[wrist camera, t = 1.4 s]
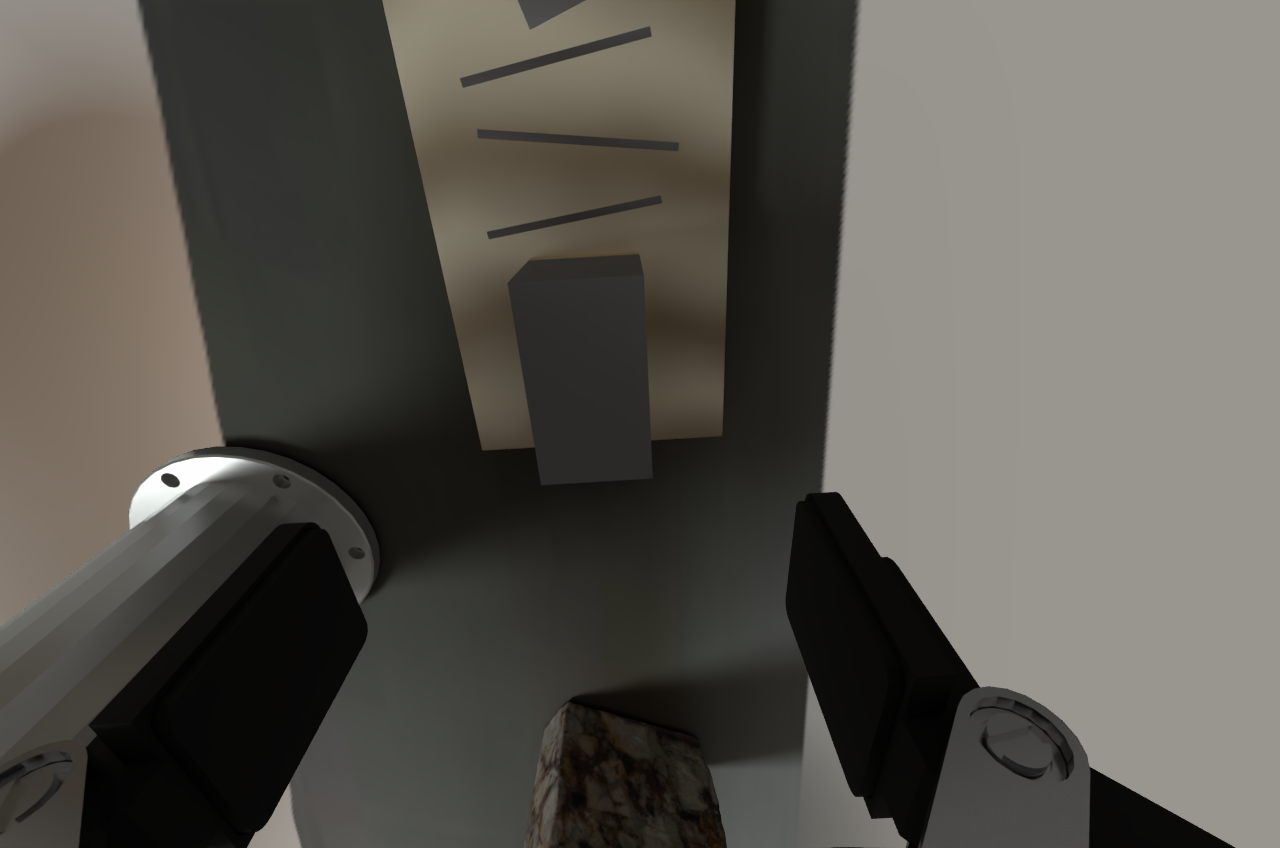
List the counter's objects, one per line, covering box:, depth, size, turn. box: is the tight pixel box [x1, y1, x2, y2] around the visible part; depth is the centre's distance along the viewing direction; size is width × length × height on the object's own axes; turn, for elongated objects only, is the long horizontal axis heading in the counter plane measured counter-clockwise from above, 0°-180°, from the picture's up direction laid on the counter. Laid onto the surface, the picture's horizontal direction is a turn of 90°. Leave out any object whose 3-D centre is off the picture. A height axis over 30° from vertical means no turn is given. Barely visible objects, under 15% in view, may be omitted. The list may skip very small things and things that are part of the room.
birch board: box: [382, 0, 735, 451], centre depth 20 cm, size 24×12×2 cm, turn 3°
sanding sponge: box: [507, 252, 653, 485], centre depth 21 cm, size 8×4×5 cm, turn 3°
